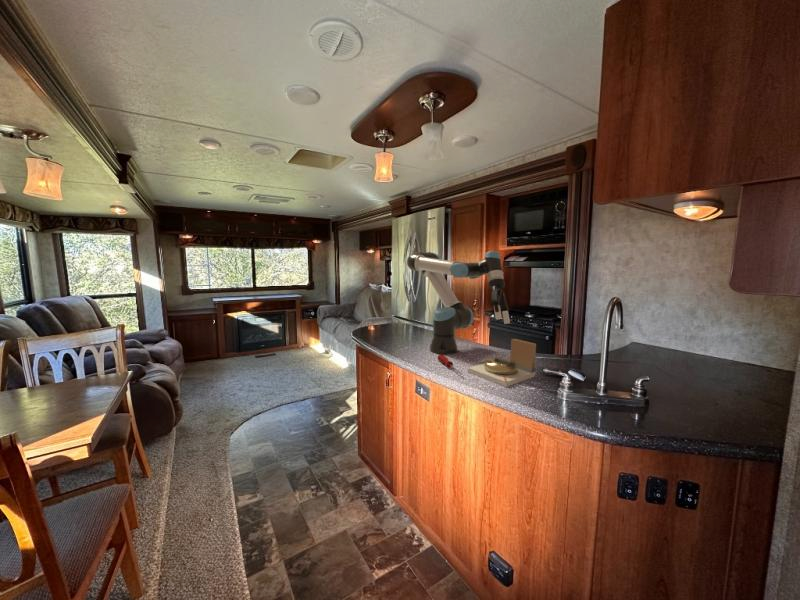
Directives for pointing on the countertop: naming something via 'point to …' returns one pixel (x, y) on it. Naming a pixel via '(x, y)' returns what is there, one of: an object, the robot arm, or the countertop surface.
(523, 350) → the brass flange bracket
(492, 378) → the plate
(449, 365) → the screwdriver
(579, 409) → the countertop surface
